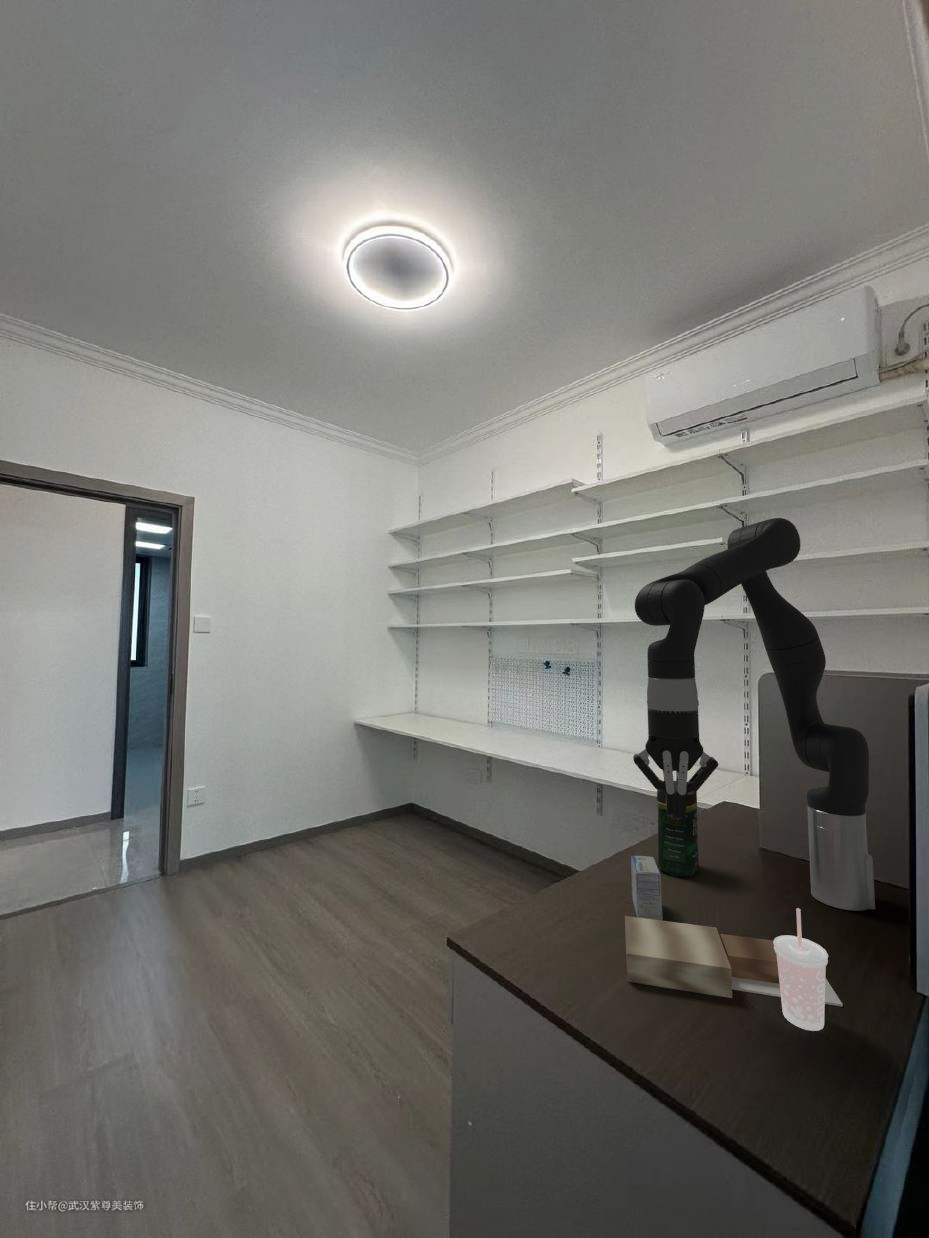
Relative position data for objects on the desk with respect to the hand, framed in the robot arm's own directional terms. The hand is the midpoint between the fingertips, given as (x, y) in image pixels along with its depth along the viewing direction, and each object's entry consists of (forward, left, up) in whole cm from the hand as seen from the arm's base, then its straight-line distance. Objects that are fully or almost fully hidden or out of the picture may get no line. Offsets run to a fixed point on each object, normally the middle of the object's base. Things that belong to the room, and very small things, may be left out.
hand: (676, 816), depth 82 cm
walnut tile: (-11, -1, -22) cm, 25 cm away
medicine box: (+4, -15, -23) cm, 27 cm away
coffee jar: (-4, -36, -22) cm, 43 cm away
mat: (-13, 0, -22) cm, 26 cm away
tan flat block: (+1, +1, -22) cm, 22 cm away
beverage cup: (-14, +9, -22) cm, 28 cm away
